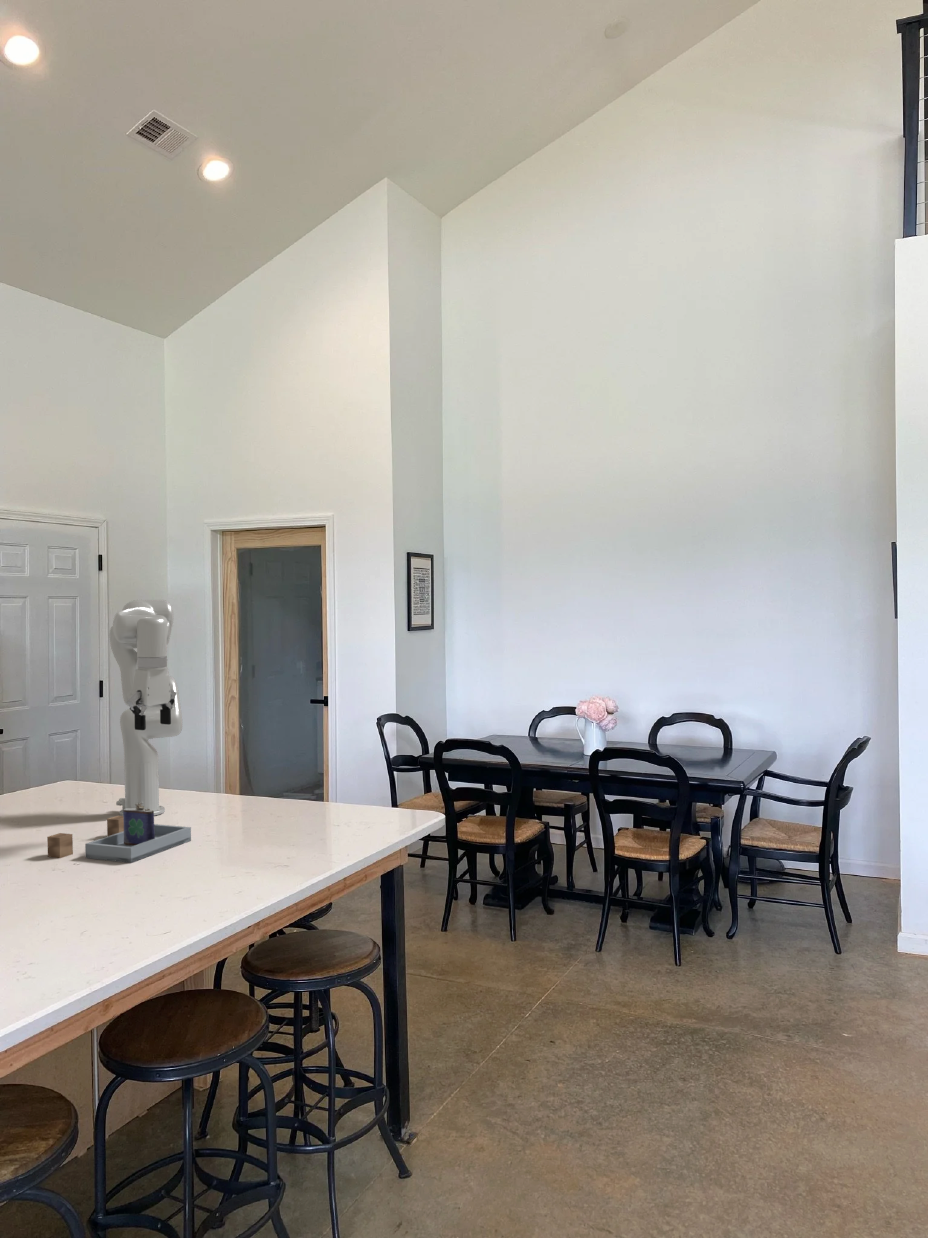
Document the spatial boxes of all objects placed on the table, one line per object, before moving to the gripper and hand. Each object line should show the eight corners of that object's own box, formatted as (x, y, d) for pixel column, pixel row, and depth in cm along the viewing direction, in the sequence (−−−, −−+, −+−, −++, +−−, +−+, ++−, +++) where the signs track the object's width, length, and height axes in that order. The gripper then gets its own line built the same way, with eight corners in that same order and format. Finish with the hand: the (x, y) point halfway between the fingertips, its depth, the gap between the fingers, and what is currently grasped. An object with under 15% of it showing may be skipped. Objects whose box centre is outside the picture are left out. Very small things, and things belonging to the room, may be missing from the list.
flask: (121, 844, 231) (120, 802, 230) (129, 842, 233) (129, 800, 233) (150, 848, 227) (149, 804, 227) (158, 845, 230) (157, 802, 230)
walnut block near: (47, 857, 224) (47, 836, 224) (60, 852, 228) (60, 832, 228) (60, 858, 223) (59, 838, 223) (72, 854, 226) (72, 834, 226)
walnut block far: (107, 837, 243) (107, 818, 243) (118, 834, 246) (118, 815, 246) (119, 838, 241) (118, 820, 241) (130, 835, 245) (129, 816, 245)
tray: (85, 858, 222) (85, 843, 222) (147, 836, 243) (147, 823, 243) (131, 863, 217) (130, 848, 217) (191, 840, 238) (190, 827, 238)
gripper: (163, 659, 253) (164, 721, 254) (117, 665, 237) (118, 731, 238) (185, 661, 251) (185, 723, 251) (140, 667, 235) (141, 733, 235)
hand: (153, 726), depth 245 cm, fingers open, 9 cm apart
